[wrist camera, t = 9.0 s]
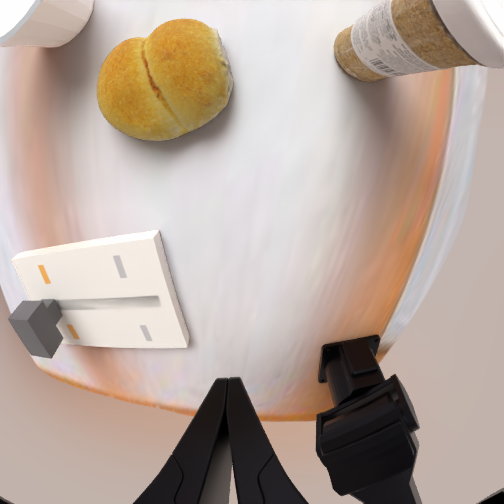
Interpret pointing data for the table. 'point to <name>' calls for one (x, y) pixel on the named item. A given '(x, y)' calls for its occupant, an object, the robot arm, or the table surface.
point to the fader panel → (108, 291)
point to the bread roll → (165, 81)
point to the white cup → (42, 21)
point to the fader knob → (38, 326)
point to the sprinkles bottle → (422, 38)
